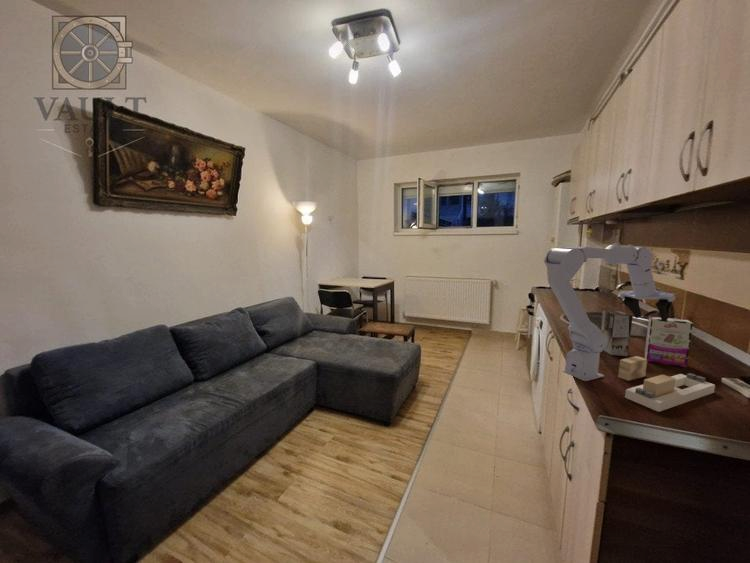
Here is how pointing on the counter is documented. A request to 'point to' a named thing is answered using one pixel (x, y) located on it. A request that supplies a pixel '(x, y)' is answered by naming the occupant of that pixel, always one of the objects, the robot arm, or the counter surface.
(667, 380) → the white block holder
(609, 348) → the coffee box
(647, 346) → the candy bar box
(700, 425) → the counter surface
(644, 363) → the beige rectangular block
